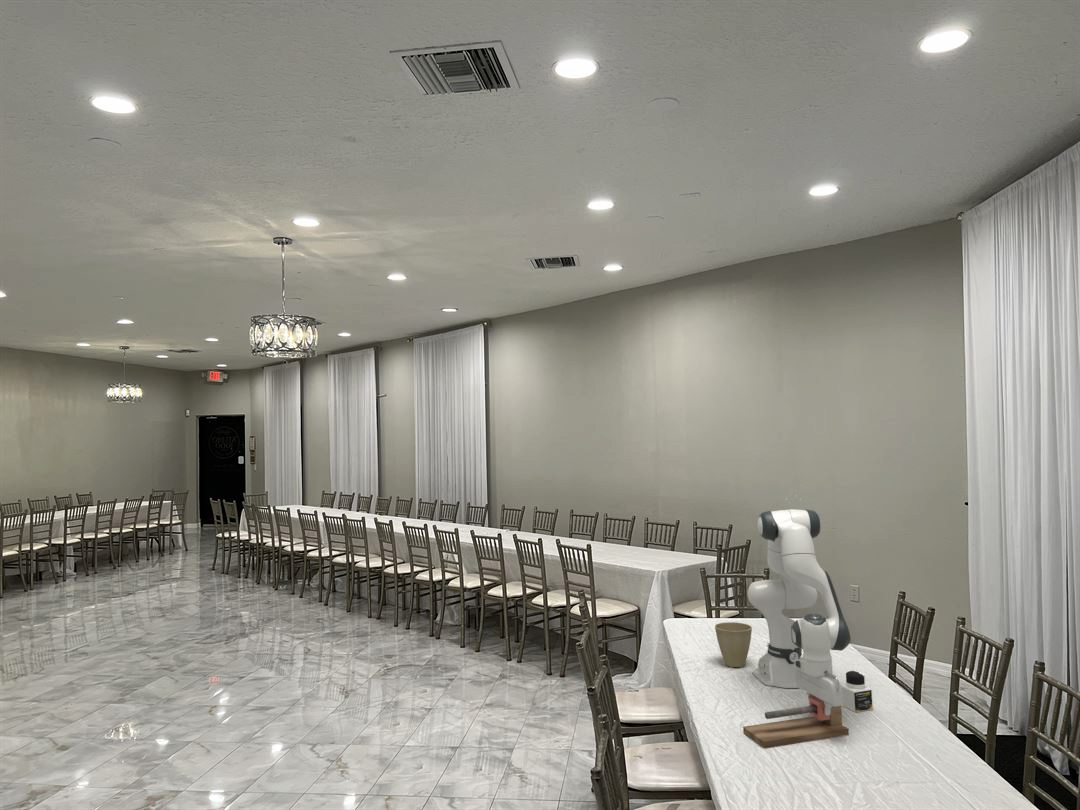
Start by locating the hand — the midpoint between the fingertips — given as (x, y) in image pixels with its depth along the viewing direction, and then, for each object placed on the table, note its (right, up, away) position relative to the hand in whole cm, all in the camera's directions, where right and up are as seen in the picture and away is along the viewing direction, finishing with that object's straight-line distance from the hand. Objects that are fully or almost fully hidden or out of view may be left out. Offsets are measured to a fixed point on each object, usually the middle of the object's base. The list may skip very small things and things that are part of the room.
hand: (820, 710), depth 230 cm
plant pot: (-9, -10, +66) cm, 68 cm away
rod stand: (-9, -6, -3) cm, 11 cm away
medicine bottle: (+19, -6, +17) cm, 26 cm away
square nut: (0, -2, 0) cm, 2 cm away
